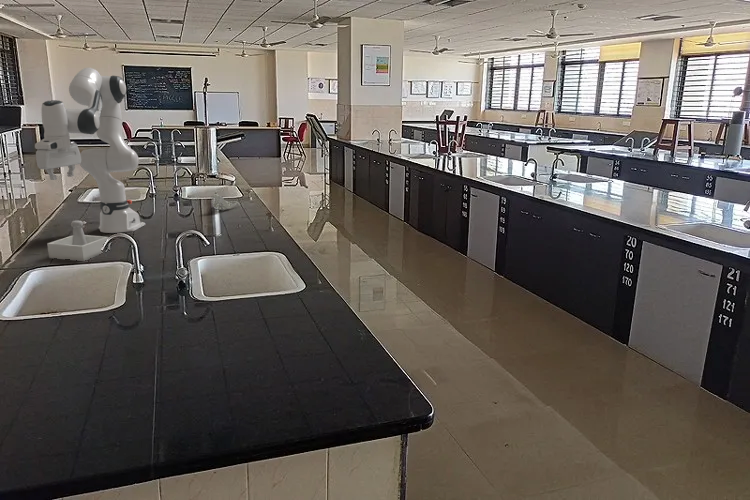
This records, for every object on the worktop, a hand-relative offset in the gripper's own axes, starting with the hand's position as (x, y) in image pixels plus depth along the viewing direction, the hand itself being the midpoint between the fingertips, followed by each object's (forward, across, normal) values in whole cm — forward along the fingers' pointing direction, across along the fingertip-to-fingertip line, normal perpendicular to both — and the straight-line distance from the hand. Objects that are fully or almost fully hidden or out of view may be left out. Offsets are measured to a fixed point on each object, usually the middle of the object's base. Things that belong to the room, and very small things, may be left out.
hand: (62, 178), depth 232 cm
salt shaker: (+30, +1, +5) cm, 31 cm away
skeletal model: (+31, -100, +17) cm, 106 cm away
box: (+31, +1, +5) cm, 31 cm away
